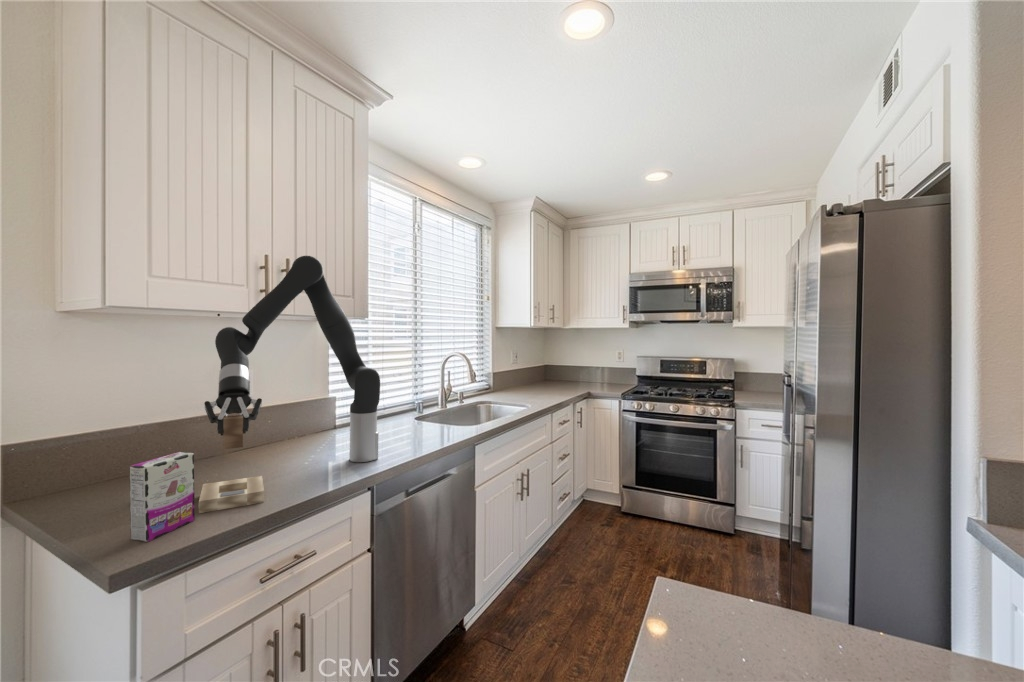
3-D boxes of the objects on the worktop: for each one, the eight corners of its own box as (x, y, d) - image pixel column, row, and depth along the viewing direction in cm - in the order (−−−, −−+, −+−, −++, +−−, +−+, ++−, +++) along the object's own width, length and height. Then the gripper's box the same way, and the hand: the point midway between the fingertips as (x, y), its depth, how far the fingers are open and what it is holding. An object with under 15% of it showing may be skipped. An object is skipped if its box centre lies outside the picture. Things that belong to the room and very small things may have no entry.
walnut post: (242, 443, 118) (243, 414, 118) (242, 447, 114) (243, 417, 114) (223, 445, 116) (224, 416, 115) (223, 449, 112) (223, 419, 112)
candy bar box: (178, 518, 102) (178, 451, 102) (195, 520, 101) (195, 452, 101) (127, 540, 91) (128, 464, 91) (146, 543, 90) (146, 466, 90)
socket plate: (261, 485, 125) (261, 475, 125) (263, 502, 113) (264, 490, 113) (203, 494, 117) (203, 483, 117) (198, 513, 105) (198, 500, 105)
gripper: (203, 375, 117) (199, 427, 107) (263, 374, 125) (264, 422, 115) (204, 392, 122) (201, 443, 112) (262, 389, 129) (263, 437, 119)
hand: (233, 432), depth 113 cm, fingers closed on walnut post, 4 cm apart
